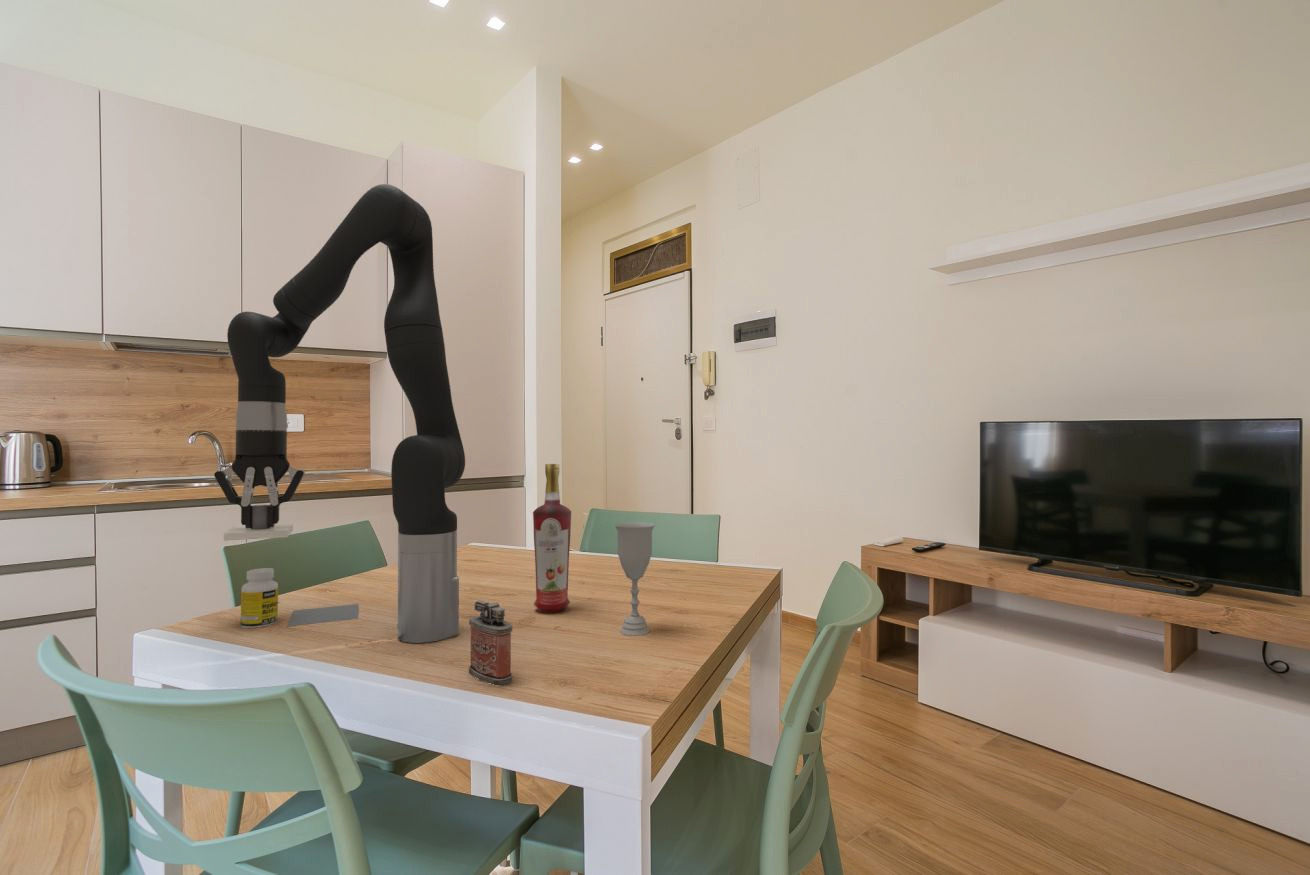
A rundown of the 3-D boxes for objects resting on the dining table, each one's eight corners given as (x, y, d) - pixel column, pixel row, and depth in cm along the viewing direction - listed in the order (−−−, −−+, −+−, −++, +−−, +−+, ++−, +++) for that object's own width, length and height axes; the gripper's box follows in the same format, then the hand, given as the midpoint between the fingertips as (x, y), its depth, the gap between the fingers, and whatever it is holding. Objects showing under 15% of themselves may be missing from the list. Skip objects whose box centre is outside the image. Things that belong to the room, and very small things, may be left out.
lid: (293, 530, 111) (293, 502, 111) (287, 537, 103) (287, 506, 103) (234, 533, 107) (234, 504, 107) (223, 540, 99) (224, 509, 99)
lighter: (518, 680, 80) (518, 605, 80) (496, 688, 78) (496, 611, 78) (484, 666, 85) (484, 595, 86) (463, 672, 83) (463, 600, 83)
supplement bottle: (264, 631, 102) (264, 573, 102) (232, 631, 102) (233, 573, 102) (284, 621, 107) (285, 567, 107) (254, 621, 107) (255, 566, 107)
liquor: (572, 604, 119) (572, 463, 119) (569, 614, 112) (570, 464, 112) (535, 605, 118) (535, 463, 119) (530, 615, 111) (530, 464, 112)
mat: (358, 606, 117) (358, 603, 117) (358, 621, 107) (358, 618, 107) (293, 613, 112) (293, 610, 112) (286, 629, 102) (286, 626, 102)
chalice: (646, 639, 97) (646, 528, 98) (607, 635, 99) (607, 526, 100) (660, 626, 104) (660, 523, 104) (624, 622, 106) (624, 521, 107)
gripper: (207, 427, 99) (206, 532, 98) (305, 428, 105) (304, 527, 104) (218, 428, 105) (216, 526, 105) (309, 429, 111) (308, 522, 111)
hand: (260, 526), depth 105 cm, fingers closed on lid, 2 cm apart
